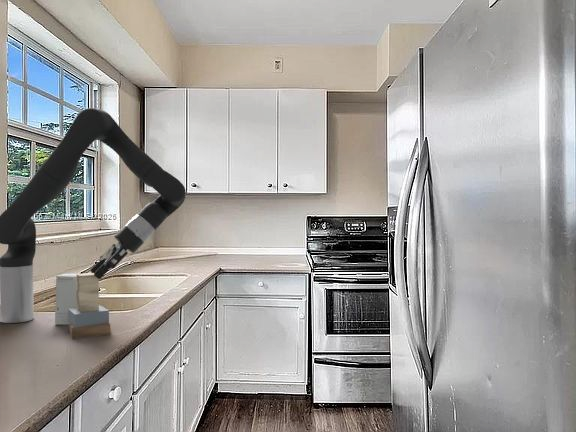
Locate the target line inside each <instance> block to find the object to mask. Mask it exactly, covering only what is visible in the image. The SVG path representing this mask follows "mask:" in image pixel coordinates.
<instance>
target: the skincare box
mask: <svg viewBox="0 0 576 432" xmlns="http://www.w3.org/2000/svg"><path fill="white" fill-rule="evenodd" d="M76 274H77V273H63V274H60V275H59V274H58V275H56V277H55V280H56V281H55V308H54V324H55V326H57V325H59V326H60V325H62V326H63V325H68V326H69V321H68V309H72V308H77V294H76Z"/></svg>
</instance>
